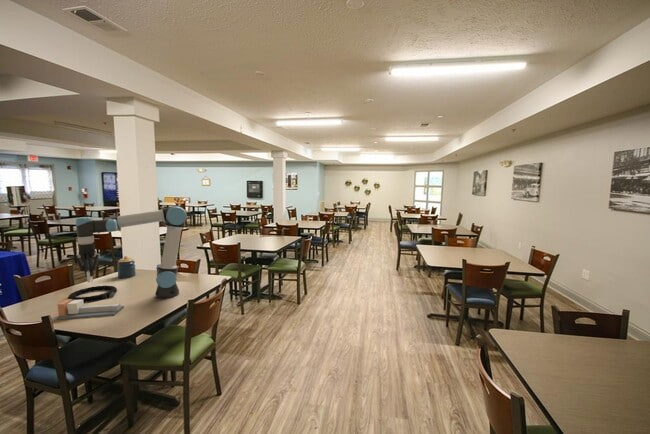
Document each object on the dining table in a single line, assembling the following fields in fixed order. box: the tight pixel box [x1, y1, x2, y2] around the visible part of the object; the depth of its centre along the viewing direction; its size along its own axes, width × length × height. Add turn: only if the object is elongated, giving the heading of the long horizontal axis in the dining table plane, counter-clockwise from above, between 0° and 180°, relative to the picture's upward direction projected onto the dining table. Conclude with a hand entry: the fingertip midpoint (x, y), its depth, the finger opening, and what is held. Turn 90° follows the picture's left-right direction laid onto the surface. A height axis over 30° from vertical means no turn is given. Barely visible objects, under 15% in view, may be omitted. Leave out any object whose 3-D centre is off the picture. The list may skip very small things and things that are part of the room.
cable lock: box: [67, 285, 118, 303], centre depth 208 cm, size 28×4×30 cm
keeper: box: [67, 299, 85, 314], centre depth 177 cm, size 5×6×6 cm
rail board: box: [56, 298, 125, 321], centre depth 179 cm, size 30×12×8 cm, turn 101°
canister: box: [116, 256, 137, 279], centre depth 253 cm, size 13×13×18 cm
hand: (90, 281), depth 177 cm, fingers closed
